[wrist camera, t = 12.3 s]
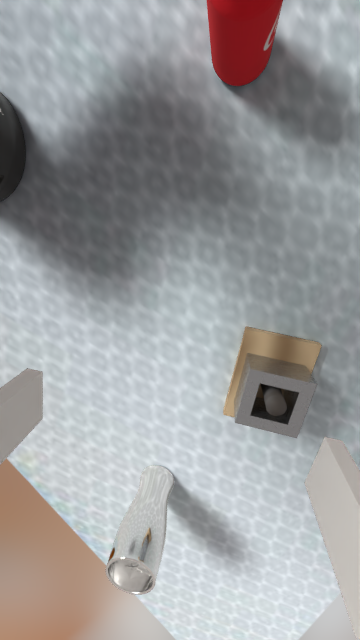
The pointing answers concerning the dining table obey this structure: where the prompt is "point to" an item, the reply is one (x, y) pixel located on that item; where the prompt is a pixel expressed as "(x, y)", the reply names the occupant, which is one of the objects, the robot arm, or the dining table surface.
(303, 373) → the grey hollow square block
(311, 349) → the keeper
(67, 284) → the dining table surface
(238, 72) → the beverage can
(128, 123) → the dining table surface
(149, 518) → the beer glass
